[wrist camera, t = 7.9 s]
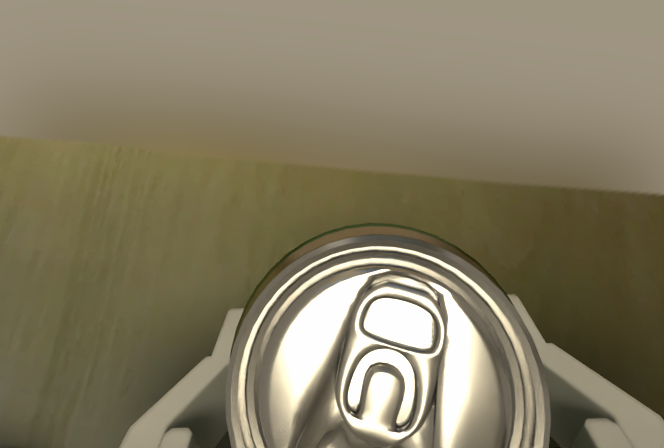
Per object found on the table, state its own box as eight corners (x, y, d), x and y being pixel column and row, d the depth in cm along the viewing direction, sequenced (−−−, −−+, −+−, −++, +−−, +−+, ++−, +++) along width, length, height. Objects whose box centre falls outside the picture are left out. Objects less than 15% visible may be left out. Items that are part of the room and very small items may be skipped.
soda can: (302, 355, 16) (141, 531, 4) (331, 254, 17) (262, 172, 5) (405, 389, 15) (548, 707, 4) (430, 282, 16) (612, 260, 4)
